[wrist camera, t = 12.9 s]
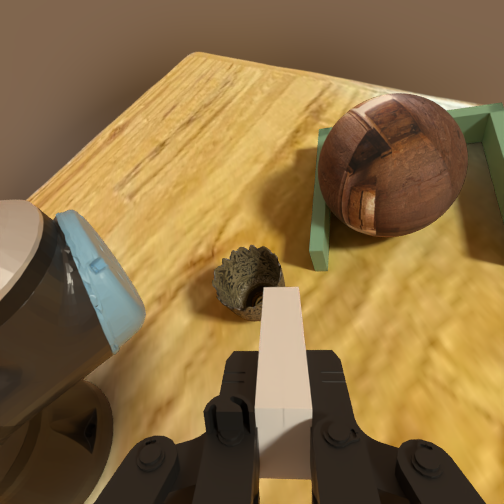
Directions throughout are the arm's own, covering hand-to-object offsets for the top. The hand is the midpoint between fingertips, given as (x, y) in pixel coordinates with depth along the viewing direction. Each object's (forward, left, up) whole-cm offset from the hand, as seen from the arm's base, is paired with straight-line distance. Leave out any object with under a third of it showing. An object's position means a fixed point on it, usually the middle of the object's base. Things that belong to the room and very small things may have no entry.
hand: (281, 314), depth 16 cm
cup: (-12, +6, -24) cm, 27 cm away
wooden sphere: (-5, +24, -24) cm, 34 cm away
